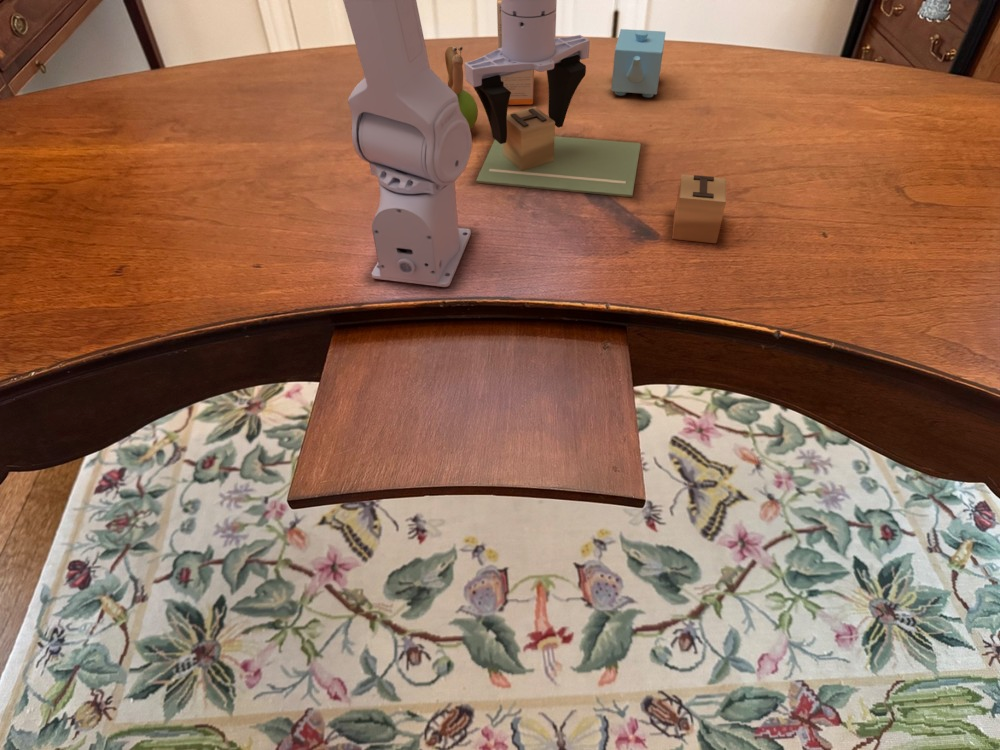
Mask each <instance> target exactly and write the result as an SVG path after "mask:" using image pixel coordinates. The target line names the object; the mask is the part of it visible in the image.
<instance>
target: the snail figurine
mask: <svg viewBox="0 0 1000 750" xmlns="http://www.w3.org/2000/svg"><path fill="white" fill-rule="evenodd" d="M463 49H464V48H463V46H462V45H458V46H455V45H454V46H449V47H447V48H446V49H445V52H444V60H445V61H444V62H445V67H446V71H447V85H448V86H449V87H450V88H451V89H452V90H453V91H454V92H455V93H456V95H457V97H458V102H459V107H460V110H461V113H462V115H463V116H464V117H465V119H466V120H467V122H468V124H469V127H470V130H472V128H473V127H474V126H475V124H476V123H477V120H478V116H479V110H478V105H477V102H476V100H475V98H474V97H473V96H472V95H471V94H470V93H469V92H468V91H466V90H464V89H463V87H464V67H463V64H464V59H463V57H462V51H463ZM457 50H458V51H459V53H458V51H457Z"/></svg>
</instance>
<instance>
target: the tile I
mask: <svg viewBox="0 0 1000 750" xmlns="http://www.w3.org/2000/svg"><path fill="white" fill-rule="evenodd" d="M678 185H679V186H678V191H677V197H676V203H675V209H674V214H673V226H672V236H671V238H672V240H676V241H677V240H679V241H688V242H697V243H698V242H699V243H707V244H717V242H718V238H719V234H720V230H721V226H722V221H723V218H724V212H725V208H726V204H727V178H726V177H717V176H716V177H715V176H709V175H708V176H707V175H698V174H694V175H693V174H684V173H683V174H681V175H680V181H679V184H678Z"/></svg>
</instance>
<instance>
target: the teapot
mask: <svg viewBox="0 0 1000 750" xmlns="http://www.w3.org/2000/svg"><path fill="white" fill-rule="evenodd" d="M665 40H666V31H661V30H659V31H658V30H646V29H628V28H627V29H625V28H621V29H620V30H619V33H618V37H617V41H616V45H615V48H614V57H613V66H612V67H613V68H612V79H611V89H610V90H611V91H610V92H614V93H615V95H616V96H626V94H627V93H630V94H631V93H632V94H641V96H642V97H644V98H653V97H654V95H657V94H658V89H659V82H660V75H661V67H662V61H663V54H664V53H663V52H664V48H665Z"/></svg>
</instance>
